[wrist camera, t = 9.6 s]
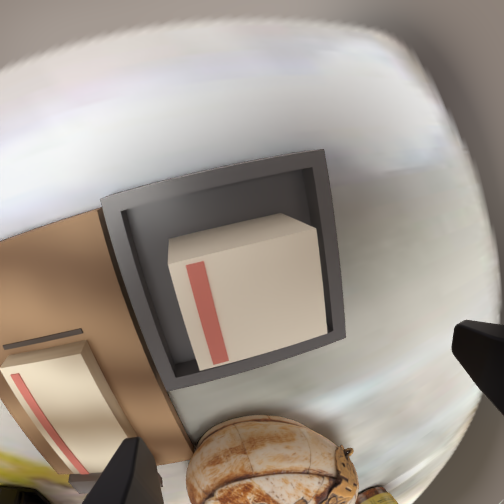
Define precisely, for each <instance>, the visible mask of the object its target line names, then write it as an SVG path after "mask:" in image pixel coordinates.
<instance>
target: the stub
mask: <svg viewBox="0 0 504 504" xmlns="http://www.w3.org/2000/svg"><path fill="white" fill-rule="evenodd" d="M168 267H169V271H170V274H171V278H172V282H173V285H174V289H175V292H176V296H177V299H178V303H179V306H180V310H181V313H182V316H183V320H184V323H185V326H186V329H187V333H188V336H189V339H190V342H191V345H192V348H193V351H194V354H195V358H196V361H197V364H198V367H199V370H200V371H201V370H205V369H209V368H213V367H217V366H221V365H225V364H228V363H232V362H236V361H239V360H243V359H247V358H250V357H254V356H257V355H261V354H264V353H268V352H271V351H274V350H278V349H281V348H284V347H287V346H291V345H294V344H297V343H300V342H303V341H306V340H309V339H312V338H315V337H318V336H321V335H324V334H327V323H326V312H325V301H324V291H323V282H322V272H321V263H320V255H319V246H318V238H317V231H316V228H314V227H312V226H310V225H307V224H305V223H303V222H301V221H298V220H296V219H294V218H291V217H289V216H287V215H285V214H282V213H278V214H274V215H269V216H265V217H260V218H256V219H251V220H247V221H243V222H238V223H234V224H230V225H225V226H221V227H217V228H212V229H208V230H204V231H200V232H195V233H191V234H187V235H183V236H179V237H175V238H171V239H169V246H168Z"/></svg>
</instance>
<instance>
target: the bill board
mask: <svg viewBox="0 0 504 504" xmlns="http://www.w3.org/2000/svg"><path fill="white" fill-rule="evenodd" d="M0 398H1V400H2V402H3V403H4V405H5V406H6V408H7V409H8V411H9V412H10V414H11V415H12V416H13V418H14V419H15V421H16V422H17V424H18V425H19V426H20V428H21V429H22V430H23V432H24V433H25V434H26V436H27V437H28V438H29V440H30V441H31V442H32V444H33V445H34V446H35V447H36V449H37V450H38V451H39V452H40V453H41V455H42V456H43V457H44V458H45V459H46V461H47V462H48V463H49V464H50V465H51V466H52V468H53V469H54V470H55V471H56V472H57V473H58V474H70V475H69V481H68V482H69V483H70V484H71V485H72V486H73V487H74V488H75V489H76V490H77V491H78V493H79V494H85V493H89V492H90V490H91V489H92V487H93V486H94V484H95V482H96V481H97V479H98V478H99V476H100V475H101V473H102V472H103V470H104V469H105V467H106V466H107V464H108V463H109V461H110V460H111V458H112V456H113V455H114V453H115V452H116V450H117V449H118V447H119V446H120V444H121V443H122V441H123V440H124V439H126V438H131V437H137V436H138V437H141V438H142V439H143V441H144V442H145V444H146V445H147V447H148V448H149V450H150V452H151V453H152V455H153V456H154V459H155V462H156V466H158V465H164V464H169V463H175V462H180V461H185V460H190V459H191V457H192V456H193V454H194V447H193V445H192V443H191V441H190V439H189V437H188V435H187V433H186V431H185V429H184V427H183V425H182V423H181V421H180V419H179V417H178V415H177V413H176V411H175V409H174V407H173V404H172V402H171V400H170V398H169V396H168V394H167V391H166V389H165V387H164V385H163V382H162V380H161V378H160V376H159V373H158V371H157V369H156V366H155V364H154V361H153V359H152V357H151V354H150V352H149V349H148V347H147V344H146V342H145V339H144V337H143V334H142V331H141V329H140V326H139V323H138V321H137V318H136V315H135V313H134V310H133V307H132V304H131V301H130V299H129V296H128V293H127V290H126V287H125V284H124V281H123V278H122V275H121V272H120V268H119V265H118V262H117V259H116V256H115V252H114V249H113V246H112V242H111V239H110V235H109V232H108V228H107V224H106V221H105V217H104V213H103V209H102V207H101V208H98V209H95V210H91V211H88V212H85V213H82V214H78V215H75V216H72V217H69V218H66V219H63V220H60V221H57V222H54V223H51V224H48V225H45V226H42V227H39V228H36V229H33V230H30V231H27V232H25V233H22V234H19V235H16V236H13V237H11V238H8V239H5V240H3V241H0ZM158 477H159V482H160V487H163V485H162V478H161V476H160V475H159V473H158Z"/></svg>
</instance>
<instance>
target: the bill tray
mask: <svg viewBox="0 0 504 504" xmlns="http://www.w3.org/2000/svg"><path fill="white" fill-rule="evenodd" d="M100 200H101V204H102V208H103V212H104V216H105V220H106V223H107V227H108V231H109V234H110V238H111V241H112V245H113V248H114V251H115V255H116V258H117V261H118V265H119V268H120V271H121V274H122V277H123V280H124V283H125V286H126V289H127V292H128V295H129V298H130V301H131V304H132V306H133V309H134V312H135V315H136V317H137V320H138V323H139V326H140V328H141V331H142V333H143V336H144V339H145V341H146V344H147V346H148V349H149V351H150V354H151V356H152V358H153V361H154V363H155V366H156V368H157V370H158V373H159V375H160V377H161V380H162V382H163V384H164V386H165V389H166V391H172V390H176V389H180V388H185V387H189V386H193V385H197V384H201V383H205V382H209V381H213V380H216V379H220V378H224V377H227V376H231V375H235V374H238V373H242V372H245V371H249V370H252V369H255V368H259V367H262V366H265V365H268V364H272V363H275V362H278V361H281V360H284V359H287V358H290V357H293V356H296V355H299V354H302V353H305V352H308V351H311V350H314V349H317V348H319V347H322V346H325V345H328V344H330V343H333V342H336V341H339V340H341V339H344V338H346V331H345V316H344V303H343V291H342V280H341V270H340V260H339V251H338V242H337V234H336V226H335V218H334V210H333V203H332V196H331V189H330V183H329V176H328V170H327V164H326V158H325V152H324V149H319V150H308V151H302V152H296V153H290V154H284V155H278V156H273V157H267V158H262V159H257V160H252V161H247V162H242V163H237V164H232V165H227V166H222V167H218V168H213V169H209V170H204V171H200V172H196V173H191V174H187V175H183V176H179V177H175V178H171V179H167V180H163V181H159V182H155V183H151V184H147V185H144V186H140V187H136V188H133V189H129V190H126V191H122V192H119V193H115V194H112V195H108V196H106V197H104V198H102V199H100ZM278 213H282V214H285V215H287V216H289V217H291V218H294V219H296V220H298V221H301V222H303V223H305V224H307V225H310V226H312V227H314V228H316V231H317V238H318V246H319V255H320V263H321V272H322V282H323V291H324V301H325V312H326V323H327V334H324V335H321V336H318V337H315V338H312V339H309V340H306V341H303V342H300V343H297V344H294V345H291V346H287V347H284V348H281V349H278V350H274V351H271V352H268V353H264V354H261V355H257V356H254V357H250V358H247V359H243V360H239V361H236V362H232V363H228V364H225V365H221V366H217V367H213V368H209V369H205V370H201V371H200V370H199V367H198V364H197V361H196V358H195V354H194V351H193V348H192V345H191V342H190V339H189V336H188V333H187V329H186V326H185V323H184V320H183V316H182V313H181V310H180V306H179V303H178V299H177V296H176V292H175V289H174V285H173V282H172V278H171V274H170V271H169V267H168V246H169V239H171V238H175V237H179V236H183V235H187V234H191V233H195V232H200V231H204V230H208V229H212V228H217V227H221V226H225V225H230V224H234V223H238V222H243V221H247V220H251V219H256V218H260V217H265V216H269V215H274V214H278Z"/></svg>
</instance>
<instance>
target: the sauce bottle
mask: <svg viewBox="0 0 504 504" xmlns="http://www.w3.org/2000/svg"><path fill="white" fill-rule="evenodd" d="M355 504H398V503H397V501H396V500H395V499H394V498H393V496H392V495H391V494H390V493H388V492H387V491H386V490H385V489H384V488H383V487H375V488H370V489H367V490H365V491H364V492H362V493H361V494H359V495H358V496H357V499H356V502H355Z"/></svg>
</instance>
